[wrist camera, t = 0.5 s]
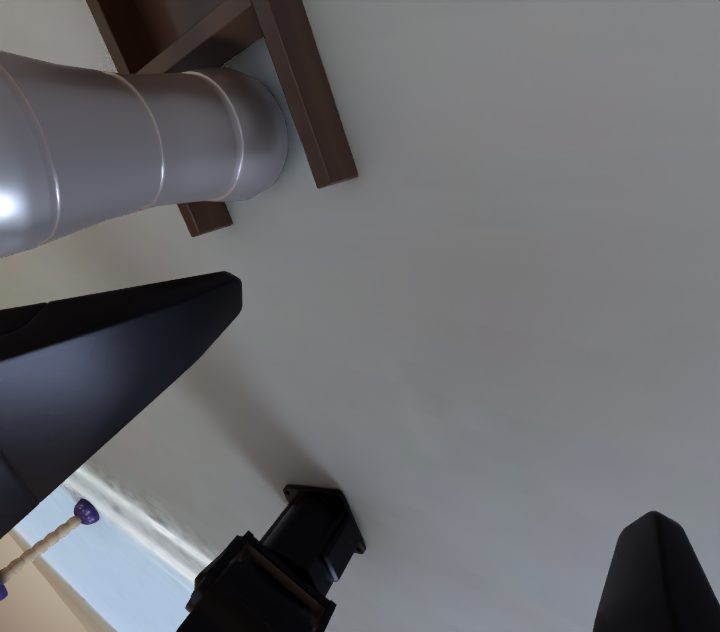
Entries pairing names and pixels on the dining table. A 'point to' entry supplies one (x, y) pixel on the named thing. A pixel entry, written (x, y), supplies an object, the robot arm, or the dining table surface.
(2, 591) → the toy lamp
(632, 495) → the dining table surface
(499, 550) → the dining table surface
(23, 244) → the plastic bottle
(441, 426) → the dining table surface
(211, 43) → the wooden divided caddy
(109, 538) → the dining table surface
